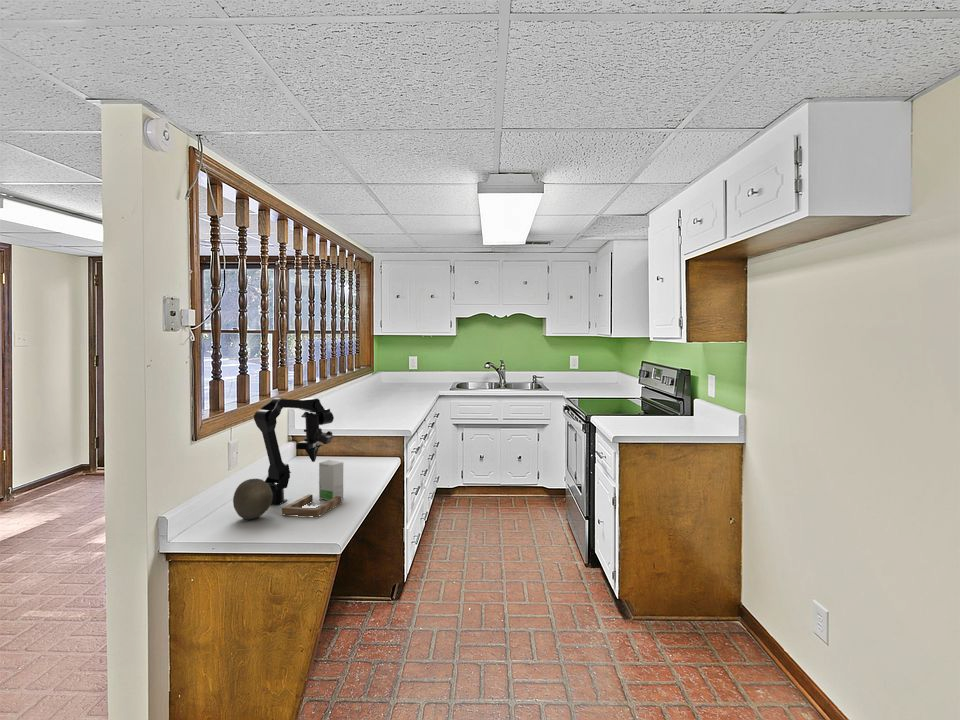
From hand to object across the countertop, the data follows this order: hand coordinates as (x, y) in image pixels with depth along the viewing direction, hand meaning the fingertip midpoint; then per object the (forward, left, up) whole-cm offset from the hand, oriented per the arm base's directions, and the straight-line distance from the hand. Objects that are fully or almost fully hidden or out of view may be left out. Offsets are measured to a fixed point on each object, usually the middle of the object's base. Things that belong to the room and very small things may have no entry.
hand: (313, 461), depth 271 cm
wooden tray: (-25, -14, -13) cm, 31 cm away
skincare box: (-10, -14, -13) cm, 22 cm away
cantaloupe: (-41, +2, -13) cm, 43 cm away
